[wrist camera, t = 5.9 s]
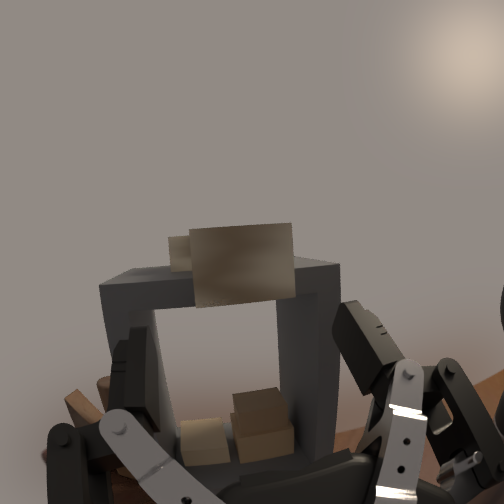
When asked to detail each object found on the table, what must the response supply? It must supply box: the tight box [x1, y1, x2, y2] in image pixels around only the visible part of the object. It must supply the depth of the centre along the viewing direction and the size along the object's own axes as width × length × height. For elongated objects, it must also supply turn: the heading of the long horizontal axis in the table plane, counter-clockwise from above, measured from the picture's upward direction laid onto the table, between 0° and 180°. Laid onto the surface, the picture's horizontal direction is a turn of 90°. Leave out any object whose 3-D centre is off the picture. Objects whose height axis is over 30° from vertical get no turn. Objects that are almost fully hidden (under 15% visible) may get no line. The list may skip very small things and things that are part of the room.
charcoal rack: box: [99, 256, 341, 495], centre depth 27 cm, size 18×12×32 cm, turn 102°
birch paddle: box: [168, 223, 296, 308], centre depth 21 cm, size 8×20×3 cm, turn 12°
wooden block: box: [65, 376, 137, 480], centre depth 31 cm, size 4×11×18 cm, turn 83°
